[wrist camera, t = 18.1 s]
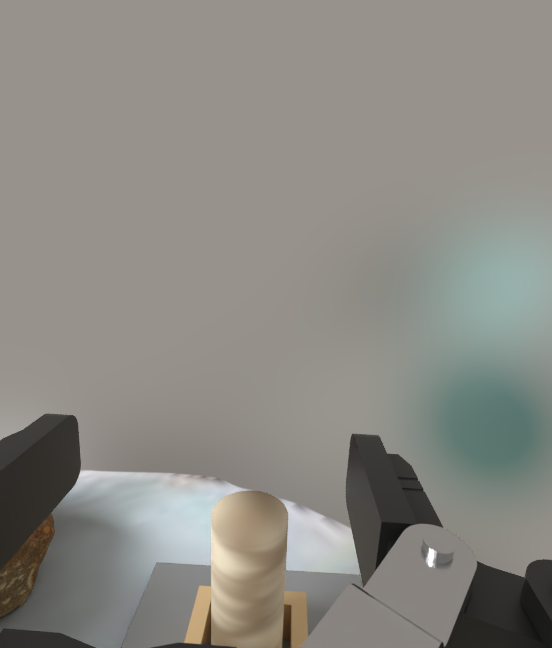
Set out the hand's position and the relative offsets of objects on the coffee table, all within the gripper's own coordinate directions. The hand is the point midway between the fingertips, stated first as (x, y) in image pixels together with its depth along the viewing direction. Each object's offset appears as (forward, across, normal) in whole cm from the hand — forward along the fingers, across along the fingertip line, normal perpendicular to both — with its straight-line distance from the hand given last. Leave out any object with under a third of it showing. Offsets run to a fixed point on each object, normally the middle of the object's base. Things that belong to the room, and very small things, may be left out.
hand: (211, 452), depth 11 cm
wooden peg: (+12, 0, +26) cm, 28 cm away
